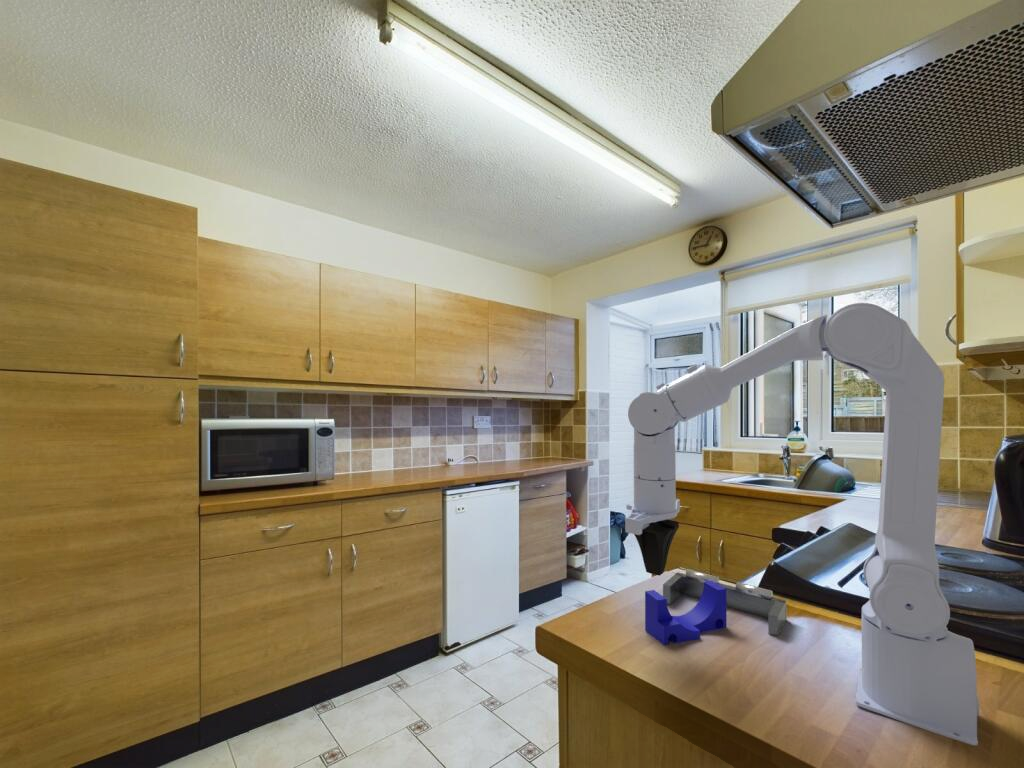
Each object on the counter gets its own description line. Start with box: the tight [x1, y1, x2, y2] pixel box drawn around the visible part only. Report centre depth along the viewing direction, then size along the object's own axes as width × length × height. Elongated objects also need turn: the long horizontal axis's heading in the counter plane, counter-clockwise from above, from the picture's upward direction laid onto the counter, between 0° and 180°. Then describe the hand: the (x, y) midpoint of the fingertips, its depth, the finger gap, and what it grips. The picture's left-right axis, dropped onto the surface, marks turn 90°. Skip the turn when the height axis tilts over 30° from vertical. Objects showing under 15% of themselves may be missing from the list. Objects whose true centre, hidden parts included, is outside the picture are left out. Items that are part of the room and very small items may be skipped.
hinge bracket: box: [662, 569, 787, 637], centre depth 74 cm, size 17×7×4 cm, turn 50°
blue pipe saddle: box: [644, 581, 728, 646], centre depth 68 cm, size 12×4×6 cm, turn 108°
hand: (654, 572), depth 66 cm, fingers closed
